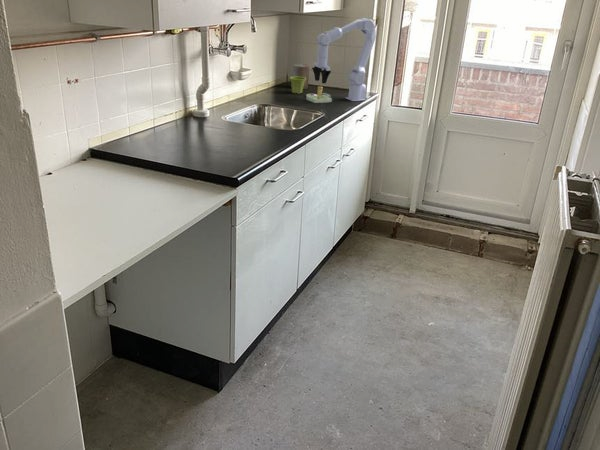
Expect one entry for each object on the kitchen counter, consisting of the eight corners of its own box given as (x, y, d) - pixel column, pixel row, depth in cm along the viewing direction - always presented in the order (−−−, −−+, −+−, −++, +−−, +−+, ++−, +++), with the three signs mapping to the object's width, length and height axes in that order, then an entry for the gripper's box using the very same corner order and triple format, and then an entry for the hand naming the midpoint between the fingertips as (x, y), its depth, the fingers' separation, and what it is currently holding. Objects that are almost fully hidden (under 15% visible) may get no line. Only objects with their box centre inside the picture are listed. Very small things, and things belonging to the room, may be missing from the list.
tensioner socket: (325, 95, 313) (325, 93, 312) (330, 97, 308) (330, 95, 307) (316, 96, 310) (316, 93, 309) (321, 98, 305) (321, 95, 305)
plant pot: (306, 94, 313) (307, 79, 309) (291, 94, 310) (291, 79, 307) (302, 91, 321) (303, 76, 317) (287, 91, 318) (288, 76, 315)
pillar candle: (310, 87, 331) (312, 63, 325) (303, 90, 324) (304, 64, 317) (297, 85, 336) (298, 61, 329) (289, 87, 328) (290, 62, 322)
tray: (323, 98, 305) (323, 95, 304) (331, 102, 298) (331, 98, 297) (306, 99, 300) (306, 96, 299) (314, 103, 293) (314, 99, 292)
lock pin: (319, 98, 301) (320, 86, 298) (322, 100, 298) (323, 87, 295) (315, 99, 299) (316, 86, 296) (318, 100, 297) (319, 87, 294)
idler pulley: (314, 95, 311) (314, 92, 310) (320, 98, 305) (320, 94, 305) (303, 96, 308) (304, 92, 307) (309, 98, 302) (310, 95, 301)
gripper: (309, 54, 296) (307, 79, 302) (323, 58, 285) (321, 84, 290) (320, 54, 299) (318, 79, 305) (334, 58, 288) (332, 84, 294)
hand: (320, 81), depth 298 cm, fingers open, 7 cm apart
